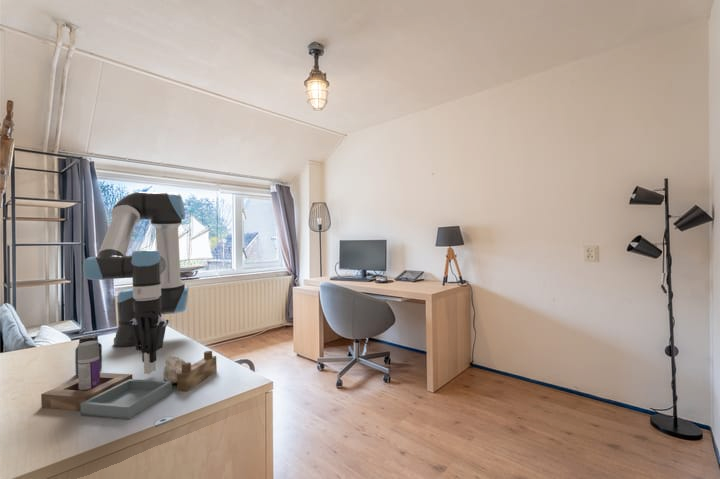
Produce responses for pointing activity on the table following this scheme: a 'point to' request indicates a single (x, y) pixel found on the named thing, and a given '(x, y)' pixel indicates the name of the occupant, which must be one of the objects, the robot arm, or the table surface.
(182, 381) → the bar
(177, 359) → the stone
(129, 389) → the tray
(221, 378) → the table surface
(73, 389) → the block
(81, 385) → the container
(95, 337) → the supplement bottle
